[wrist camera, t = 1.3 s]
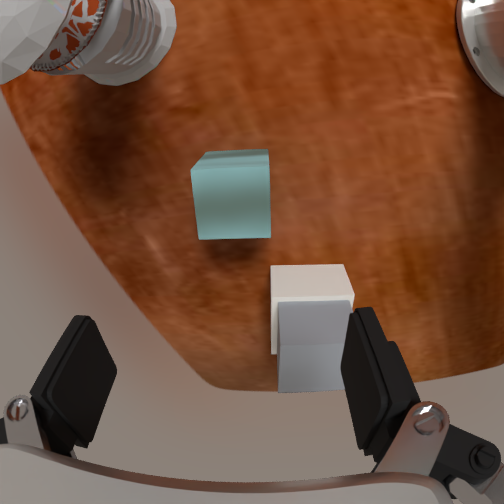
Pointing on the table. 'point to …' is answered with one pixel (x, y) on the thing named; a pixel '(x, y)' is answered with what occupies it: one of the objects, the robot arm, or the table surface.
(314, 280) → the block
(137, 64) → the french press
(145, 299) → the table surface
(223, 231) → the teal pillar
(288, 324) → the tower top
